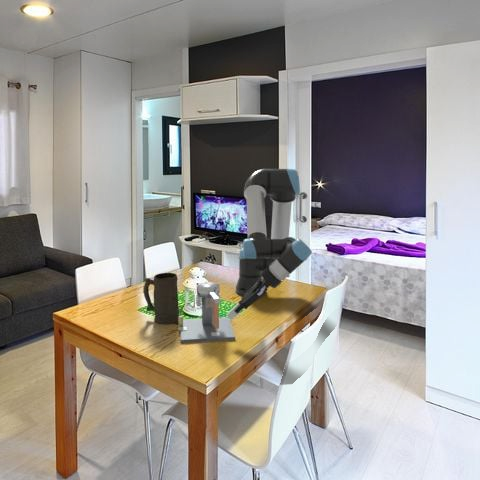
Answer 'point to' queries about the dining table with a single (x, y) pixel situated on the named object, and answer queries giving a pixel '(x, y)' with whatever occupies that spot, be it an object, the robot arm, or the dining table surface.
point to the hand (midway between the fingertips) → (229, 316)
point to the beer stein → (163, 297)
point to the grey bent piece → (210, 299)
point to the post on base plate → (205, 328)
